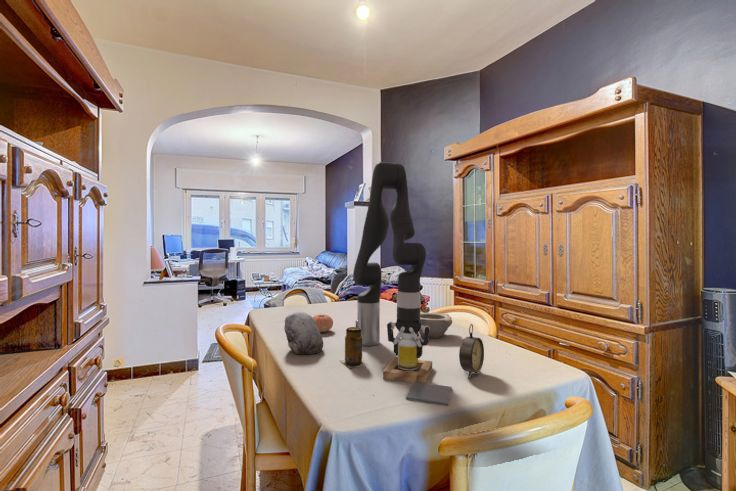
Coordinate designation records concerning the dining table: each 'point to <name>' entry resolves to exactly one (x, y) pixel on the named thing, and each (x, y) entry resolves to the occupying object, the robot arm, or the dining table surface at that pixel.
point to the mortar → (435, 324)
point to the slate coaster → (429, 393)
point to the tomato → (323, 322)
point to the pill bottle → (407, 352)
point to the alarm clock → (471, 354)
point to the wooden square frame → (408, 372)
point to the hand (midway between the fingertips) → (408, 356)
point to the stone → (302, 334)
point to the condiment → (353, 348)
